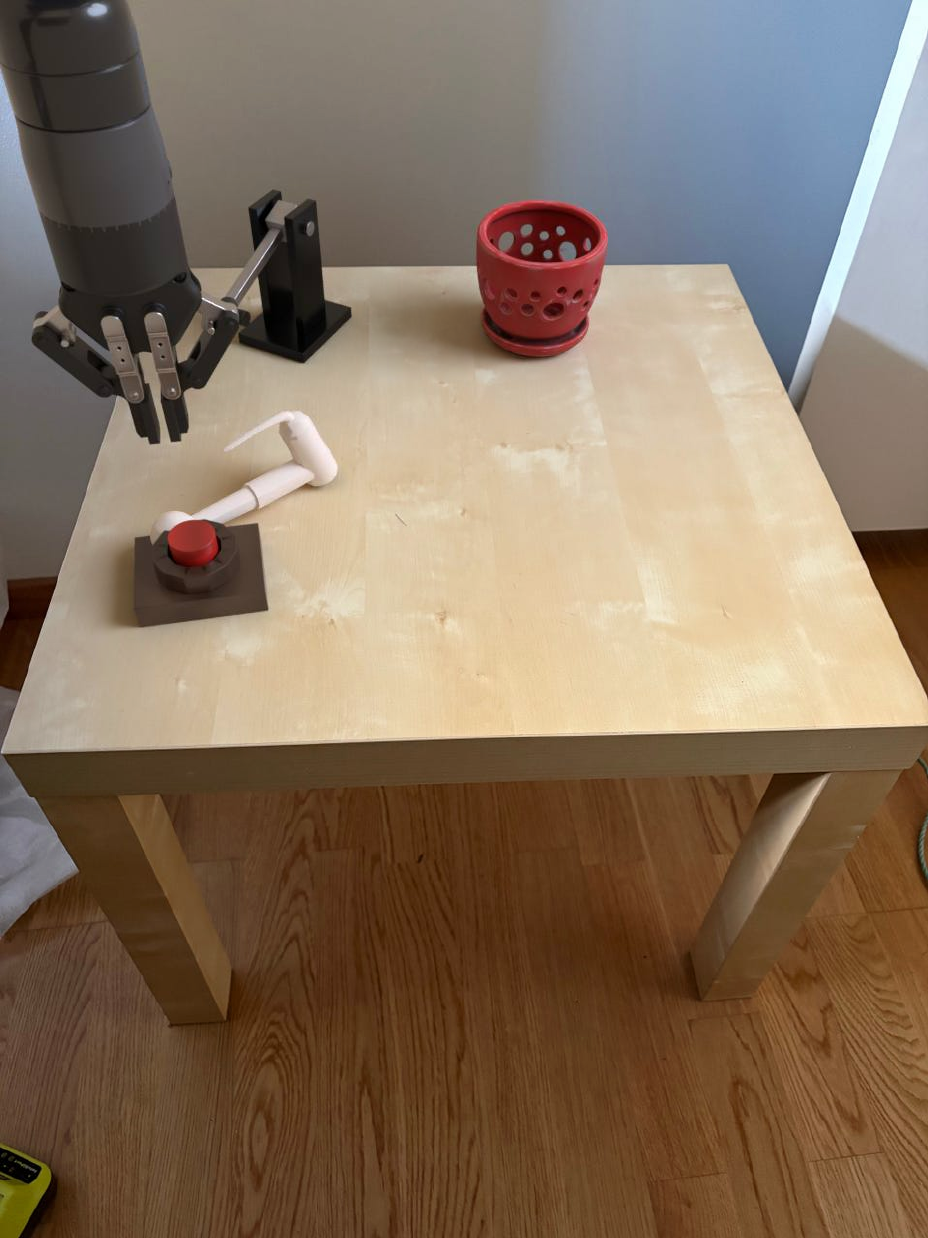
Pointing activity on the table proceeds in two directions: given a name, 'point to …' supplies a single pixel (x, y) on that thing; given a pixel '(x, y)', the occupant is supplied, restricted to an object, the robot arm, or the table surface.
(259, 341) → the bracket
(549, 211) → the flower pot
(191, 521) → the button
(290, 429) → the faucet
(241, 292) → the lever
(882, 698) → the table surface
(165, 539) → the button block
